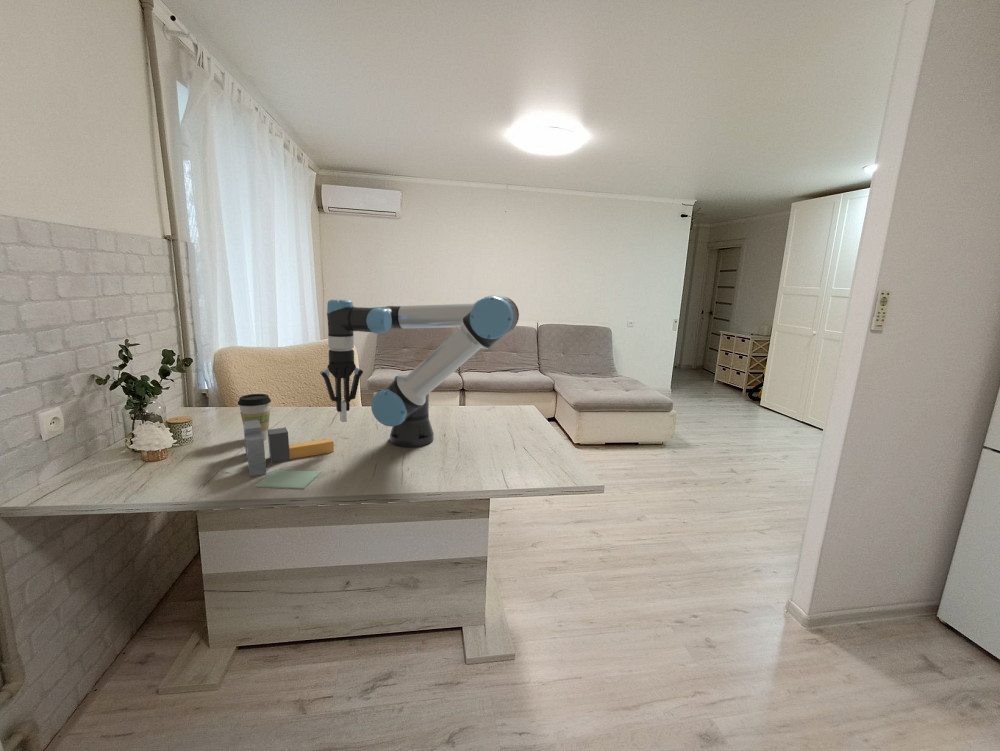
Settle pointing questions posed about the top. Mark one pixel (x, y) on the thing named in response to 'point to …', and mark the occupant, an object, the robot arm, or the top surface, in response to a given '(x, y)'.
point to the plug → (294, 446)
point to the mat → (288, 479)
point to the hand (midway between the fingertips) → (343, 420)
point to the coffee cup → (256, 410)
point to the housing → (254, 447)
